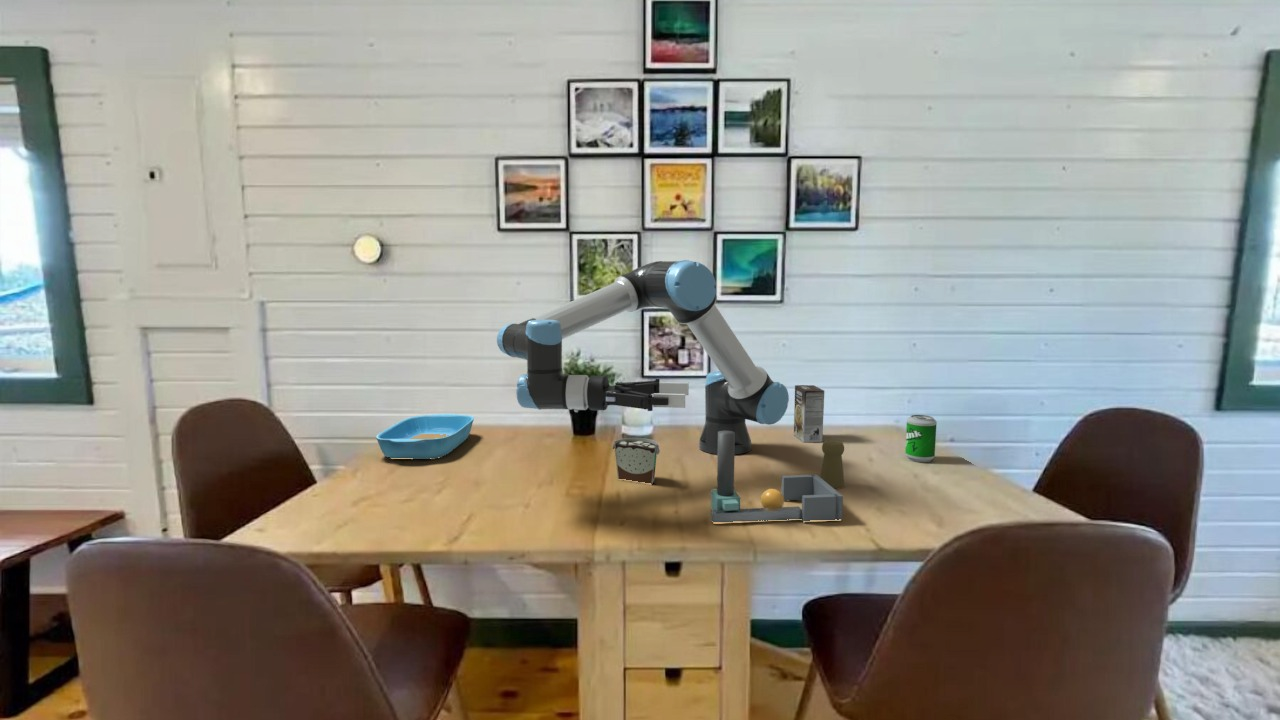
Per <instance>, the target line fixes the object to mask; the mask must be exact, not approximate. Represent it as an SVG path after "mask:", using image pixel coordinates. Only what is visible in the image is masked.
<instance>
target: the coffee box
mask: <svg viewBox="0 0 1280 720" xmlns="http://www.w3.org/2000/svg"><path fill="white" fill-rule="evenodd" d="M793 409H794V414H793V415H794V416H793V417H794V418H793V436H794V435H795V436H794V437H796V438H797V437H798V438H799V440H800V441H801V442H802V441H803V442H802V443H822V442H823V438H824V437H823V434H824V433H823V431H824V430H823V429H824V412H825V411H824V410H825V390H824V389H821V388H820V387H818V386H816V385H810V384H809V385H805V384H800V385H799V384H797V385H796V384H795V385H794V408H793ZM798 438H797V439H798Z"/></svg>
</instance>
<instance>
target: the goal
mask: <svg viewBox="0 0 1280 720" xmlns="http://www.w3.org/2000/svg"><path fill="white" fill-rule="evenodd" d="M781 494H782V495H783V497H784V502H787V501H786V500H800V501H801V509H802V520H803V521H810V520H835V519H837V520H839V519H842V520H843V502H844V496H843V495H842V494H841V493H840V492H839V491H837V489H834V488H832V487H831V486H830V485H829V484H828V483H826V482H825V481H824V480H823V479H822V478H820V475H818V474H799V475H795V474H794V475H792V474H791V475H781Z"/></svg>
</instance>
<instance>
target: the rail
mask: <svg viewBox="0 0 1280 720" xmlns="http://www.w3.org/2000/svg"><path fill="white" fill-rule="evenodd" d="M787 519H788V520H789V519H802V507H800V506H799V505H798V506H783V507H775V508H763V507H755V508H740V509H739V510H730V511H724V510H710V521H711V520H712V521H713V522H733V521H758V520H759V521H761V520H762V521H763V520H764V521H766V520H767V521H768V520H787Z"/></svg>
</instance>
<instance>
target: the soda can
mask: <svg viewBox="0 0 1280 720" xmlns="http://www.w3.org/2000/svg"><path fill="white" fill-rule="evenodd" d="M937 422H938V421H936V419H935V418H934V417H933V416H931V415H927V414H912V415H910V416H909V417H908V418H907V419H906V430H905V431H906V432H905V433H906V434H905V447H904V448H905V451H904V454H905V457H907V458H908V460H909V461H911V462H914V463H915V462H916V463H931V462H932V460H934V459H935V458H936V457H935V454H936V442H937V441H936V440H937V438H936V437H937Z"/></svg>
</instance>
